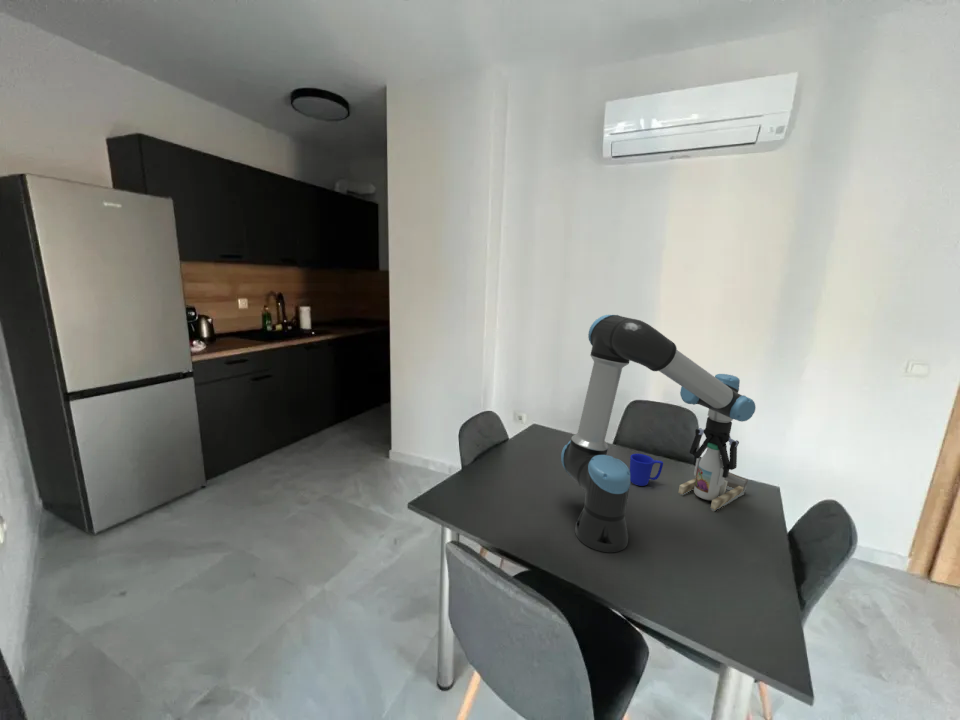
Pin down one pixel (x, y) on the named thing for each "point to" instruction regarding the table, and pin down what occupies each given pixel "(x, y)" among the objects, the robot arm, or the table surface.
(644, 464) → the mug
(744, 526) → the table surface
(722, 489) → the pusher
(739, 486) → the lane
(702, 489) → the milk bottle
